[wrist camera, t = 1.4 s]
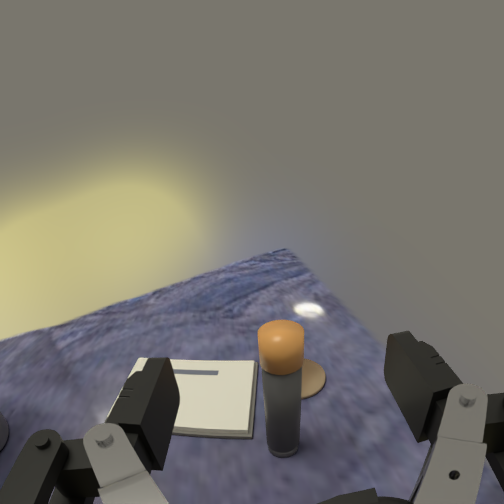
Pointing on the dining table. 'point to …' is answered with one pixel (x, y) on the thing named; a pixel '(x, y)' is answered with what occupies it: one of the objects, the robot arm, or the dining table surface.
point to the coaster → (311, 378)
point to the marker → (282, 383)
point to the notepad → (213, 397)
